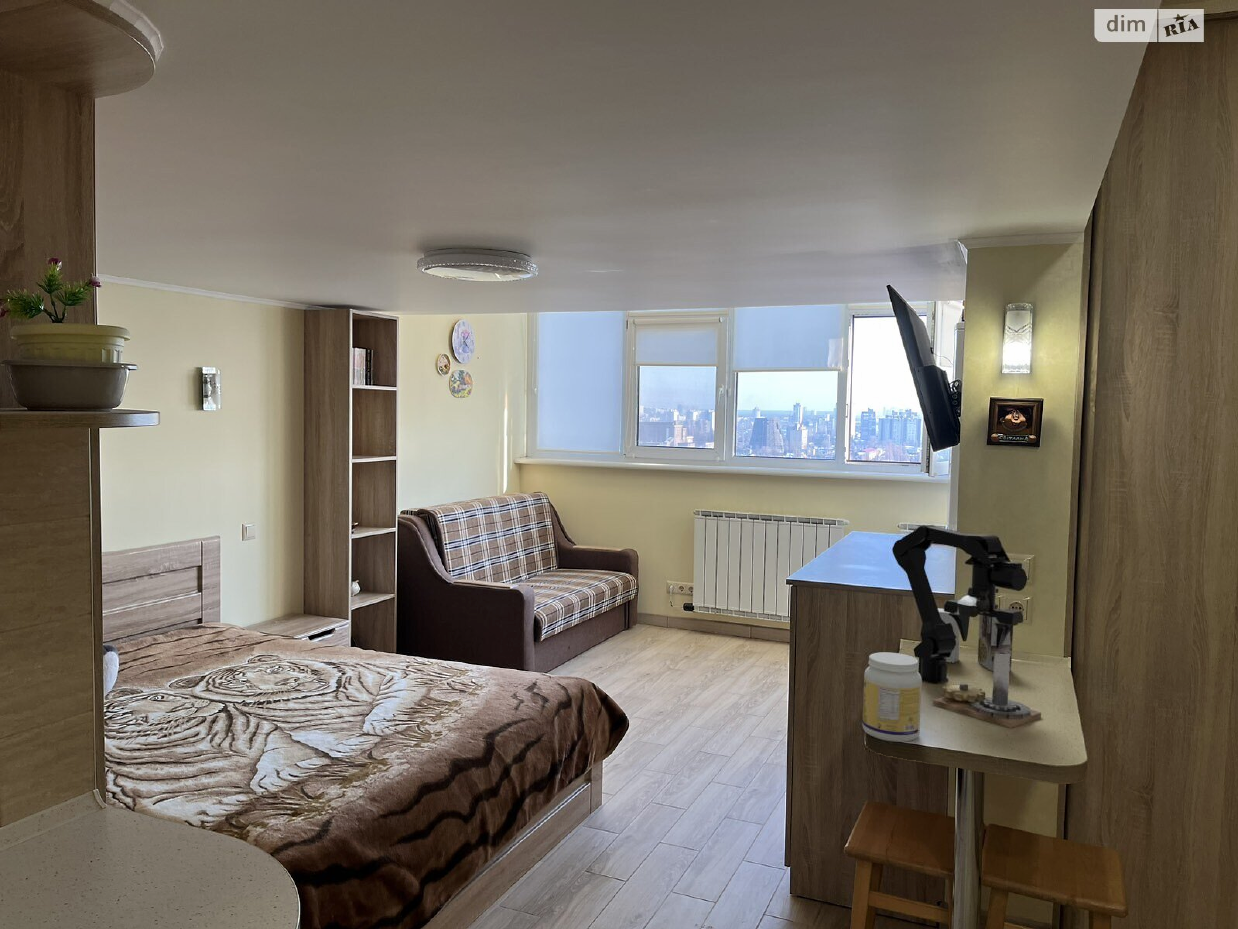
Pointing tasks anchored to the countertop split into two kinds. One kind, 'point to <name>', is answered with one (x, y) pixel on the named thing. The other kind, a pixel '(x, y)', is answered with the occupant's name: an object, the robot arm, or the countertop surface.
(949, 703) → the gear board
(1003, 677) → the gear
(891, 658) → the supplement tub
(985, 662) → the coffee box
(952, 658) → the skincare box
